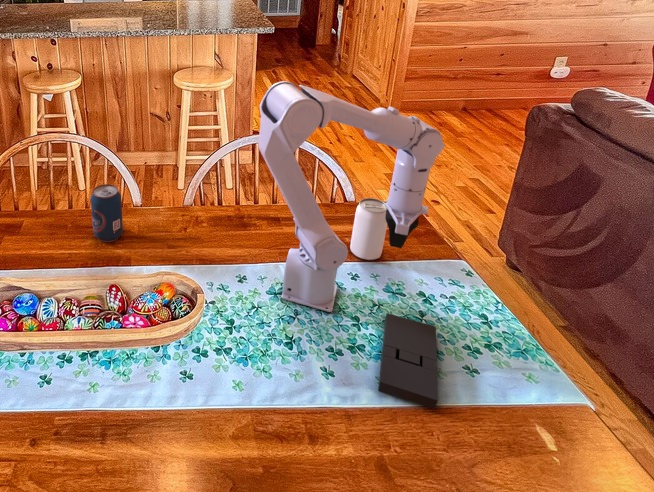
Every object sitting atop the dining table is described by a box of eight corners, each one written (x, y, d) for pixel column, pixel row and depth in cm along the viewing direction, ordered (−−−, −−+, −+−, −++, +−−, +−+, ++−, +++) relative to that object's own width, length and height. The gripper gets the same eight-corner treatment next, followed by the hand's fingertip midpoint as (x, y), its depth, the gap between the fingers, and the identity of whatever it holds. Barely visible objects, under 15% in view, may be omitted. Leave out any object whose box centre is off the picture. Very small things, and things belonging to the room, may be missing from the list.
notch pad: (378, 390, 80) (380, 381, 79) (381, 353, 86) (383, 344, 85) (435, 409, 76) (437, 400, 76) (434, 369, 83) (436, 360, 82)
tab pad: (381, 362, 84) (383, 353, 84) (384, 321, 93) (386, 312, 92) (434, 378, 81) (437, 369, 80) (433, 334, 90) (436, 326, 89)
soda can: (87, 234, 119) (83, 190, 114) (111, 222, 123) (108, 179, 118) (105, 247, 114) (102, 202, 109) (129, 234, 119) (127, 190, 114)
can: (383, 262, 108) (393, 214, 103) (351, 259, 109) (359, 212, 104) (378, 244, 113) (387, 198, 108) (347, 241, 114) (355, 195, 110)
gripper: (434, 208, 85) (418, 273, 90) (432, 170, 96) (418, 229, 102) (388, 199, 87) (376, 263, 93) (392, 163, 99) (381, 221, 105)
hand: (395, 245), depth 98 cm, fingers closed
